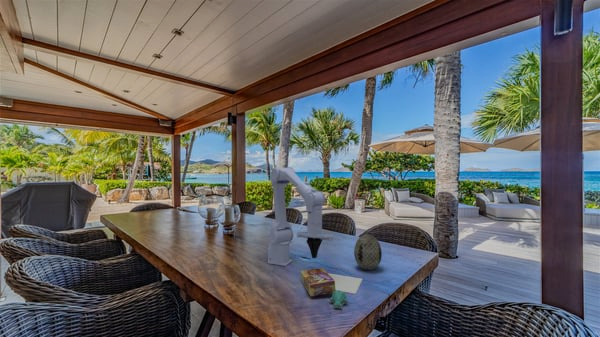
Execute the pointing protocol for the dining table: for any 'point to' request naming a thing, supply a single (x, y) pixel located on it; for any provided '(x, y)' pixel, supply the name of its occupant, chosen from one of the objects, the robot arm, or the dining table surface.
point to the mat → (346, 283)
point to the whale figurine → (338, 299)
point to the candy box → (318, 282)
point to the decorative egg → (367, 252)
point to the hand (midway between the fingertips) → (314, 257)
